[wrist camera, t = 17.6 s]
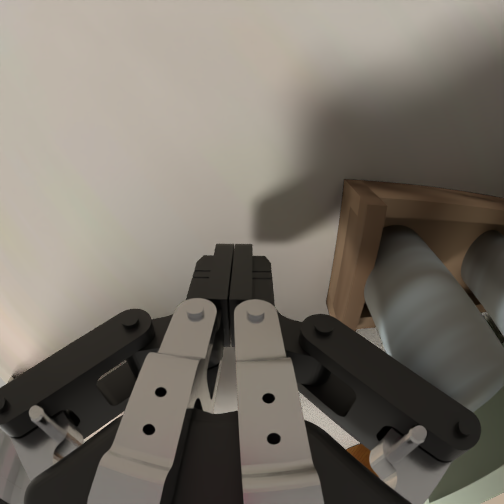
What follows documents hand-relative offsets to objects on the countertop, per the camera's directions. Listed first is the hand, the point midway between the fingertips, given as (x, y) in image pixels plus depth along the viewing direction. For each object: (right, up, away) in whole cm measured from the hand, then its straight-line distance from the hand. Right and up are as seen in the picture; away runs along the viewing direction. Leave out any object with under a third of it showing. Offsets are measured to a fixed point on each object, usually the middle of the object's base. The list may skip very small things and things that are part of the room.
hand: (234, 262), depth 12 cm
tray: (+14, +1, +1) cm, 14 cm away
